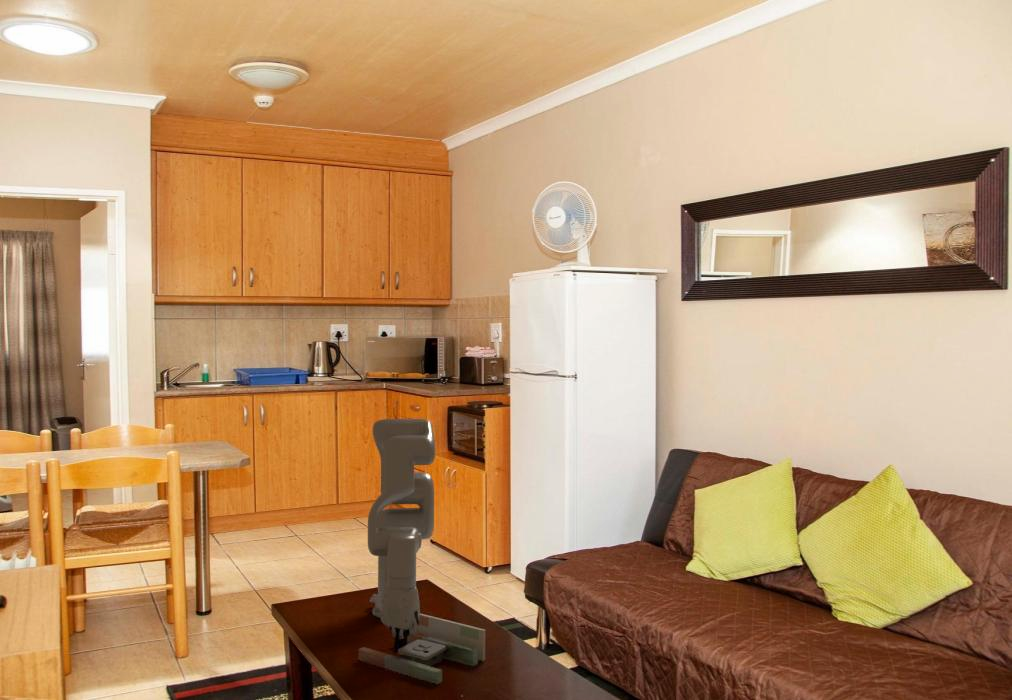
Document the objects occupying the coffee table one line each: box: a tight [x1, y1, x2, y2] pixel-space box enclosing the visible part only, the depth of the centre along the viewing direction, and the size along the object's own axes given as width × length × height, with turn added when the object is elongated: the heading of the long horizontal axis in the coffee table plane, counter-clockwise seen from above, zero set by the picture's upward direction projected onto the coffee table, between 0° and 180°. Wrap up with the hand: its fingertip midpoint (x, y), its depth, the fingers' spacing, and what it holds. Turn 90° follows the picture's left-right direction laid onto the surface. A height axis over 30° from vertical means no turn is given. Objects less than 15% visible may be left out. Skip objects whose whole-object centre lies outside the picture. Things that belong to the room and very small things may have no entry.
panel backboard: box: [417, 613, 486, 662], centre depth 231 cm, size 26×1×8 cm, turn 55°
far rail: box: [407, 633, 479, 667], centre depth 228 cm, size 26×2×4 cm, turn 55°
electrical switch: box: [397, 640, 446, 667], centre depth 222 cm, size 9×5×9 cm
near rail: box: [357, 646, 443, 685], centre depth 216 cm, size 26×2×3 cm, turn 55°
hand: (400, 651), depth 225 cm, fingers closed
